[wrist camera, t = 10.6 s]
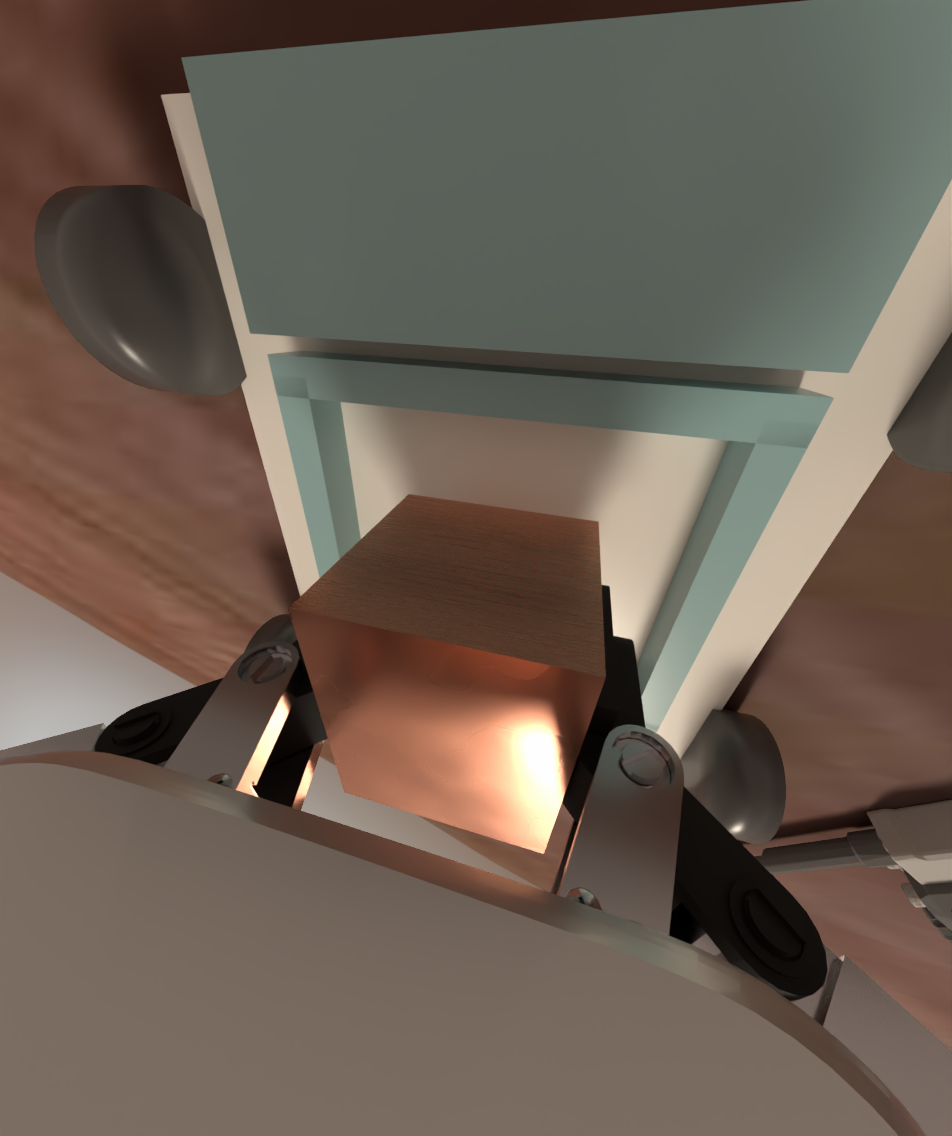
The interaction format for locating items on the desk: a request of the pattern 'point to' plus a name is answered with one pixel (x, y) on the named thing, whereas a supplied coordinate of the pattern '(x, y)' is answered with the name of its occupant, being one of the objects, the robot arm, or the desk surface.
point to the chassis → (565, 303)
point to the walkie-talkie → (889, 855)
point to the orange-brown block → (460, 662)
